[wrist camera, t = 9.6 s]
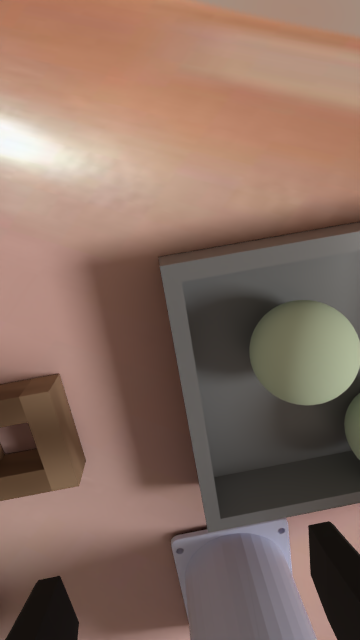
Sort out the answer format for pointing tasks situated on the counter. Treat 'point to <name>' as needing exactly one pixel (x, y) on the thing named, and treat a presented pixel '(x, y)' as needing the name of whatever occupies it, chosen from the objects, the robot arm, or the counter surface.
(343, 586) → the robot arm
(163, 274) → the charcoal tray
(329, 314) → the sage ball
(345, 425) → the ball
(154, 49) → the counter surface
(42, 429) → the walnut stand
